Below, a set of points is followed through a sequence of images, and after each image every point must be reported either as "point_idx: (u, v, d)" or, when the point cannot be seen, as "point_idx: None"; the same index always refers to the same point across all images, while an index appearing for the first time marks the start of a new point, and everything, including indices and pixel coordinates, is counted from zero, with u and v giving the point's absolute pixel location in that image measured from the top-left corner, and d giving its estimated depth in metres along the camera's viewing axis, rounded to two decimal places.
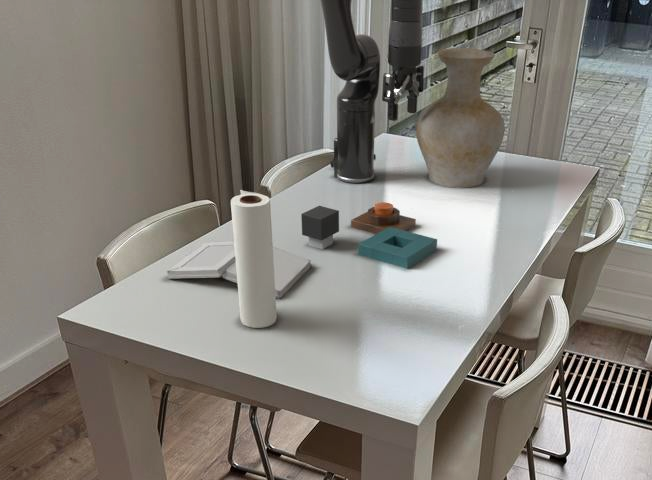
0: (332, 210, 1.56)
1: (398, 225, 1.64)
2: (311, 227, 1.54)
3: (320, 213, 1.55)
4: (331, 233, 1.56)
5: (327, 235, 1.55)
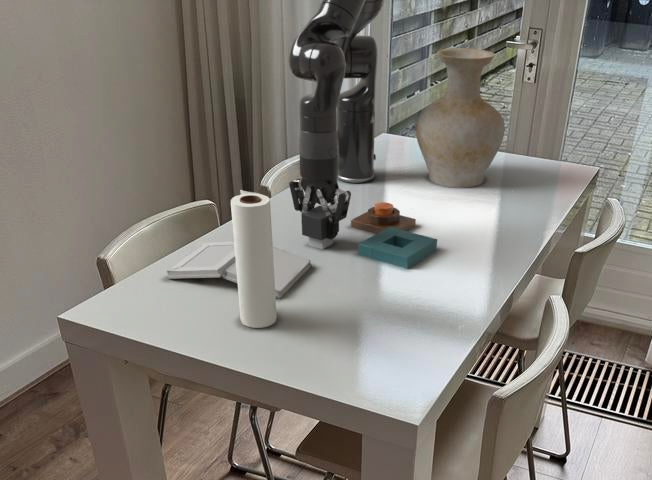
0: None
1: (398, 225, 1.64)
2: (311, 227, 1.54)
3: (320, 213, 1.55)
4: None
5: None
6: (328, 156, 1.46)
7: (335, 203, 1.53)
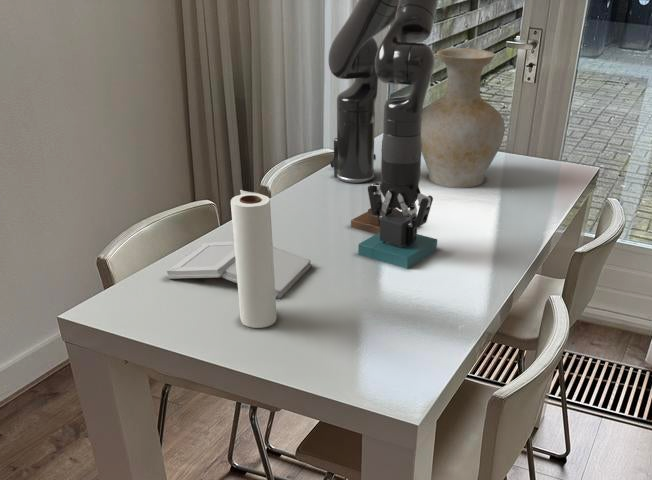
0: None
1: None
2: (390, 232, 1.51)
3: (399, 218, 1.52)
4: None
5: None
6: (412, 160, 1.43)
7: (415, 208, 1.51)
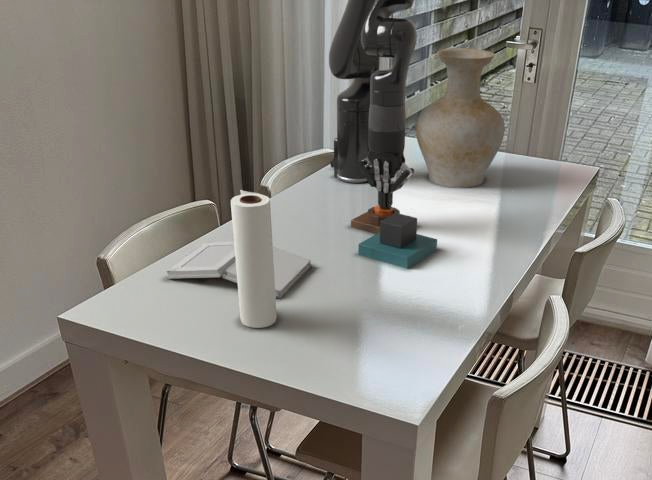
0: (410, 217, 1.54)
1: None
2: (390, 235, 1.52)
3: (399, 220, 1.52)
4: (409, 241, 1.54)
5: (406, 243, 1.53)
6: (397, 129, 1.54)
7: (395, 176, 1.62)
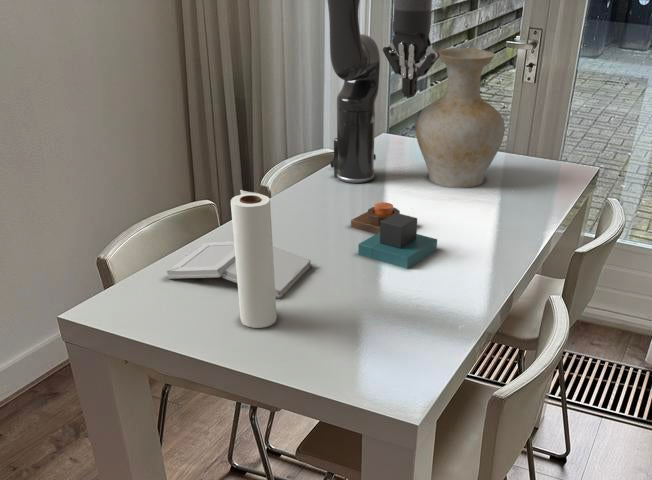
0: (410, 217, 1.54)
1: None
2: (390, 235, 1.52)
3: (399, 220, 1.52)
4: (409, 241, 1.54)
5: (406, 243, 1.53)
6: (423, 8, 1.52)
7: (420, 62, 1.60)
